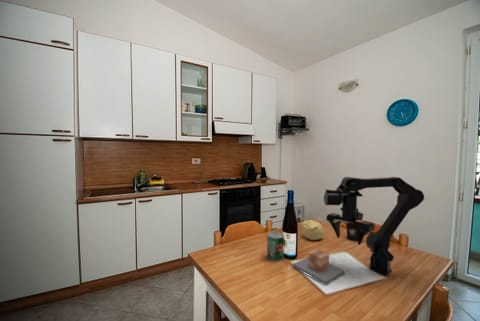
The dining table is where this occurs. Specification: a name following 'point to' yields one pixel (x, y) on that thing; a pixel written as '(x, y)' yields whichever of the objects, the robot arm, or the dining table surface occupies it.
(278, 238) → the canned tomato
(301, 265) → the charcoal board
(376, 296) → the dining table surface
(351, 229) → the coffee mug
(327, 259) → the terracotta cube
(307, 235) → the pale yellow rounded lump
